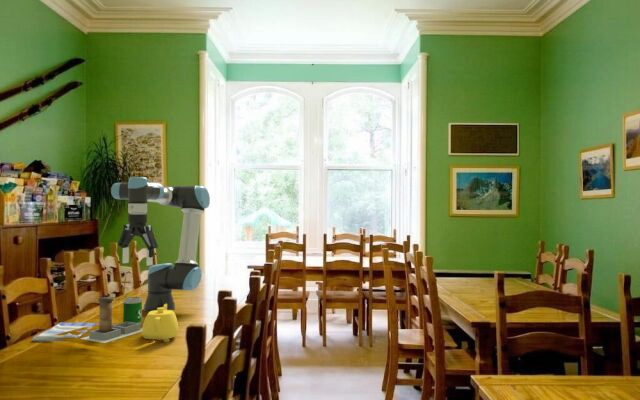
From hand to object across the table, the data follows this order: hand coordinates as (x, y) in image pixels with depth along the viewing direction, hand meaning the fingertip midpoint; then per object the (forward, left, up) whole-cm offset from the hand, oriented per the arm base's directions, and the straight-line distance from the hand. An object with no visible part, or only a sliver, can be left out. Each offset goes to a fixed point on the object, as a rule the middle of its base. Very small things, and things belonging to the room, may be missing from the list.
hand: (137, 264), depth 191 cm
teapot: (+4, +17, -28) cm, 33 cm away
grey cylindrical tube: (+15, -1, -27) cm, 31 cm away
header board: (+10, 0, -28) cm, 30 cm away
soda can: (-6, -8, -28) cm, 30 cm away
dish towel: (+15, -21, -29) cm, 39 cm away
